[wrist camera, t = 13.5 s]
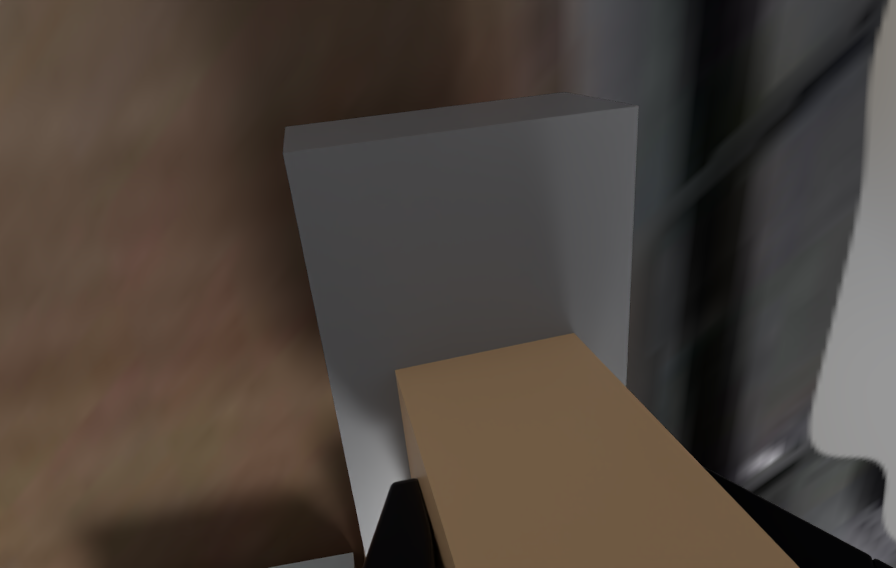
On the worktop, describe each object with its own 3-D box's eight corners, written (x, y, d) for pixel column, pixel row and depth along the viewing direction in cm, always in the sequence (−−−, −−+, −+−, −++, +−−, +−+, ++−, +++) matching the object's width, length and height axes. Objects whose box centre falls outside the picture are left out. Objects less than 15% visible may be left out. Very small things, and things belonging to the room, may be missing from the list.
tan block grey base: (564, 92, 10) (1718, 307, 2) (567, 505, 15) (951, 1156, 6) (285, 126, 10) (216, 806, 1) (371, 557, 14) (499, 1411, 5)
